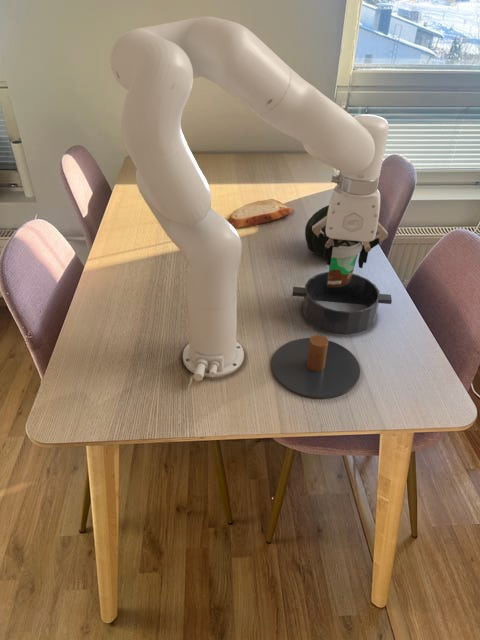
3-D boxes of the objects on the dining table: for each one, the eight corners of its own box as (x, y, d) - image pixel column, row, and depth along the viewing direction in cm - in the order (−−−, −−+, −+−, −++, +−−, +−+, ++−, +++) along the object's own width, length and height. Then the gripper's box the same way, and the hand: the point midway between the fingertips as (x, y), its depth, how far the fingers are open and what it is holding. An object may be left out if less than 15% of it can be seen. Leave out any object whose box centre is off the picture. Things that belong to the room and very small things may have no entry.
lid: (361, 405, 96) (368, 375, 92) (267, 395, 98) (269, 366, 93) (357, 345, 110) (362, 317, 105) (275, 338, 112) (277, 310, 107)
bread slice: (225, 227, 154) (225, 215, 152) (239, 202, 168) (239, 191, 166) (284, 234, 151) (285, 222, 148) (294, 208, 165) (295, 197, 162)
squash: (307, 252, 131) (348, 207, 127) (287, 228, 143) (324, 186, 139) (342, 279, 139) (381, 237, 134) (320, 254, 150) (356, 214, 146)
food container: (355, 294, 108) (364, 252, 102) (326, 290, 109) (332, 248, 103) (357, 265, 117) (364, 225, 111) (330, 262, 118) (336, 222, 112)
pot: (390, 340, 112) (396, 316, 108) (289, 331, 114) (291, 307, 110) (383, 297, 125) (388, 275, 121) (293, 290, 127) (294, 268, 123)
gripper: (313, 186, 98) (303, 268, 109) (405, 194, 96) (386, 276, 107) (314, 173, 104) (304, 251, 115) (401, 179, 102) (383, 258, 113)
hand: (344, 262), depth 111 cm, fingers closed on food container, 6 cm apart
